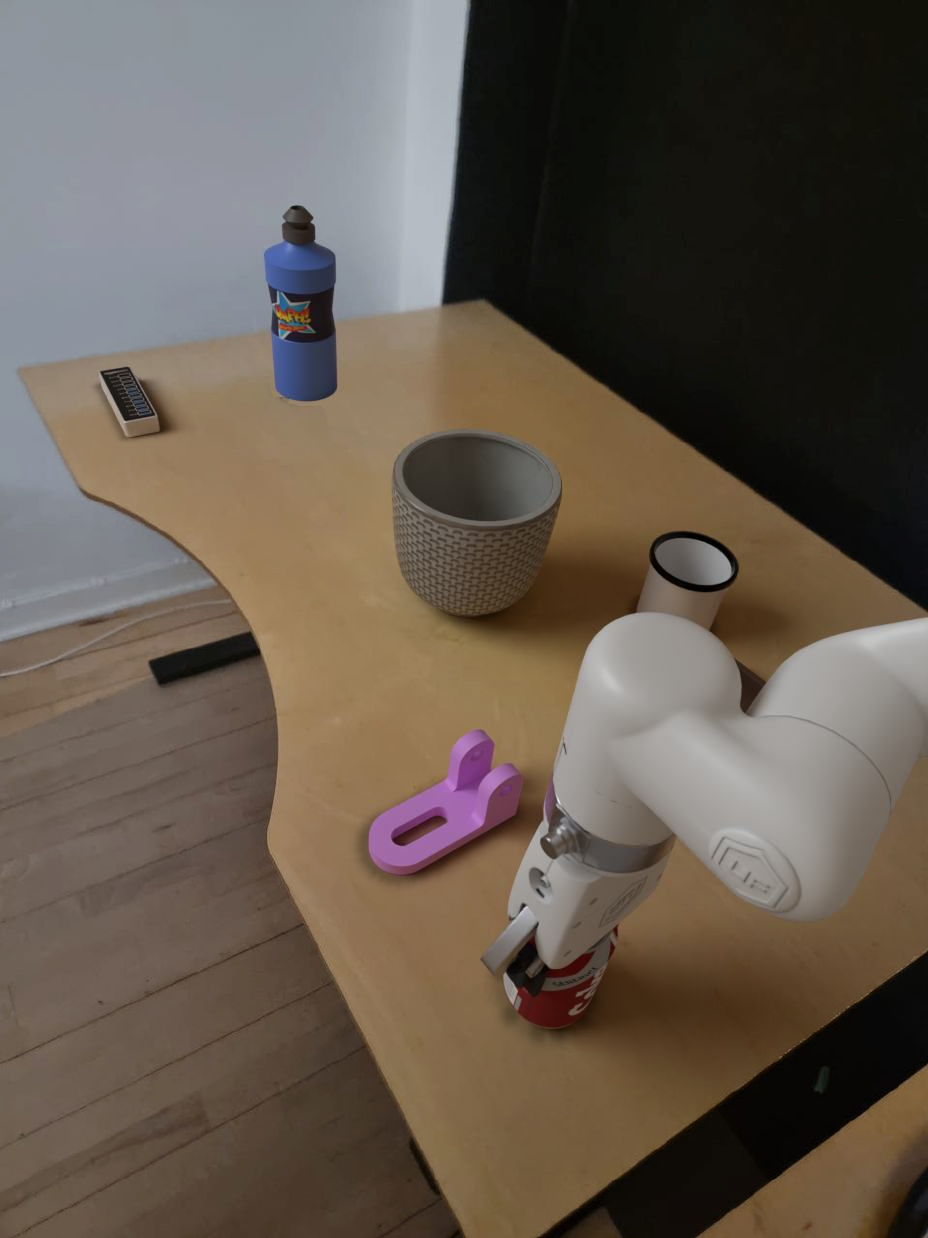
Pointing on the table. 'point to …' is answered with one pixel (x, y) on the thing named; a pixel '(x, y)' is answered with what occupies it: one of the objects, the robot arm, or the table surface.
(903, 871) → the table surface
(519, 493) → the planter
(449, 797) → the bracket
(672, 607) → the mug
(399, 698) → the table surface
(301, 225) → the water bottle
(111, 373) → the multiport hub
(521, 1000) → the soda can
